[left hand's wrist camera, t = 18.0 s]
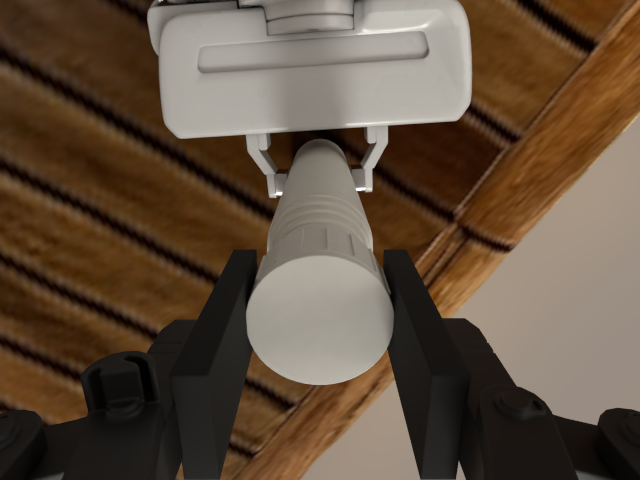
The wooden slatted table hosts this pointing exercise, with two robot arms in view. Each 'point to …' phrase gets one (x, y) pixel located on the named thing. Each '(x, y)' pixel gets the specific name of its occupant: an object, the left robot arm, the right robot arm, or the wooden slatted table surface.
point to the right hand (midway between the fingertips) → (321, 193)
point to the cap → (320, 307)
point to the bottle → (319, 196)
